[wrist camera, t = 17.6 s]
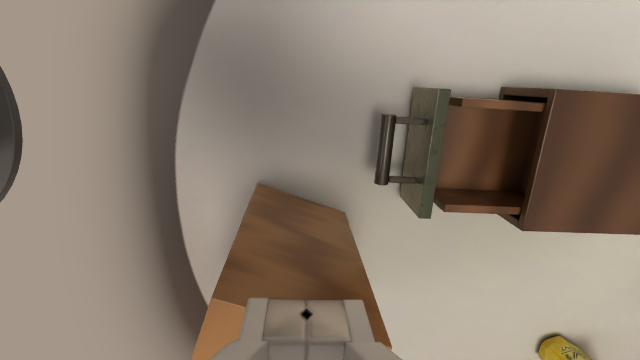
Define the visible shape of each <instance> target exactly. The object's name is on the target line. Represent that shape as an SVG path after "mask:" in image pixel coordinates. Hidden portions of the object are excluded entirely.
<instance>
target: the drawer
mask: <svg viewBox="0 0 640 360" xmlns="http://www.w3.org/2000/svg"><path fill="white" fill-rule="evenodd" d="M450 93H451V90H450V89H437V88H419V87H414V92H413V100H412V107H411V115H410V117H396V115H394V114H382V116H381V125H380V135H379V144H378V153H377V162H376V172H375V181H374V183H375V184H378V185H388V182H389V183H402V184H401V192H400V197H401V198H402V199H403V200H404V201H405V203H406V204H407V205H408V206H409V207H410V208H411V209H412V211H413V212H414V213H415V214H416V215H417V216H418V217H419V218H428V219H430V218H431V213H432V206H433V202H434V203H435V204H436V205H437V206H438V207H439V208H440V209H441V210H443V211H444V212H462V213H490V214H517V215H521V211H522V206H523V202H524V198H525V194H526V189H527V185H528V181H529V177H530V172H531V168H532V164H533V159H534V155H535V151H536V147H537V142H538V138H539V134H540V130H541V125H542V121H543V117H544V112H545V108H546V104H547V102H534V101H518V100H502V99H486V98H470V97H454V96H450ZM395 123H397V124H409V130H408V138H407V146H406V153H405V161H404V169H403V176H389V172H390V164H391V156H392V147H393V139H394V131H395Z"/></svg>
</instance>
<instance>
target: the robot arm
mask: <svg viewBox="0 0 640 360" xmlns="http://www.w3.org/2000/svg"><path fill="white" fill-rule="evenodd" d="M209 360H402V359H401V358H399V357H398V356H397V355H396V354H394V353H393V352H392V351H391V350H390V349H388V348H387V347H386V346H385V345H383V344H382V343H381V342H375V340H374V337H373V334H372V330H371V327H370V323H369V320H368V317H367V313H366V310H365V306H364V303H363V301H362V300H303V299H278V298H269V299H268V298H249V299H248V301H247V305H246V309H245V313H244V318H243V322H242V326H241V330H240V334H239V338H238V341H231V342H230V343H229V344H227V345H226V346H225V347H224V348H222V349H221V350H220V351H219V352H218V353H216V354H215V355H214V356H213V357H212V358H210V359H209Z"/></svg>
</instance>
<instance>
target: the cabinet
mask: <svg viewBox="0 0 640 360" xmlns="http://www.w3.org/2000/svg"><path fill="white" fill-rule="evenodd" d="M499 99H502V100H518V101H534V102H547V104H546V108H545V112H544V117H543V121H542V125H541V130H540V134H539V138H538V142H537V147H536V151H535V155H534V159H533V164H532V168H531V172H530V177H529V181H528V185H527V189H526V194H525V198H524V202H523V206H522V211H521V215H517V214H498V215H499V216H501V217H502V218H504V219H505V220H507V221H508V222H510V223H511V224H513V225H514V226H516V227H517V228H519V229H520V230H522V231H543V232H573V233H604V234H634V235H640V94H625V93H610V92H595V91H579V90H564V89H542V88H511V87H501V91H500V96H499Z"/></svg>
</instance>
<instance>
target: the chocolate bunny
mask: <svg viewBox="0 0 640 360" xmlns="http://www.w3.org/2000/svg"><path fill="white" fill-rule="evenodd" d="M539 357H540V358H541V359H542V360H592V359H591V358H590V357H589V356H588V355H587V354H585V353H584V352H583V351H582V350H581V349H580V348H578V347H576V346H574V345H572V344H571V343H569V342H568V341H567V340H565V339H564V338H563V337H561V336H556V337H553V338H549V339H546V340H545V341H544V342H543V343H542V344H541V347H540V350H539Z"/></svg>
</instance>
